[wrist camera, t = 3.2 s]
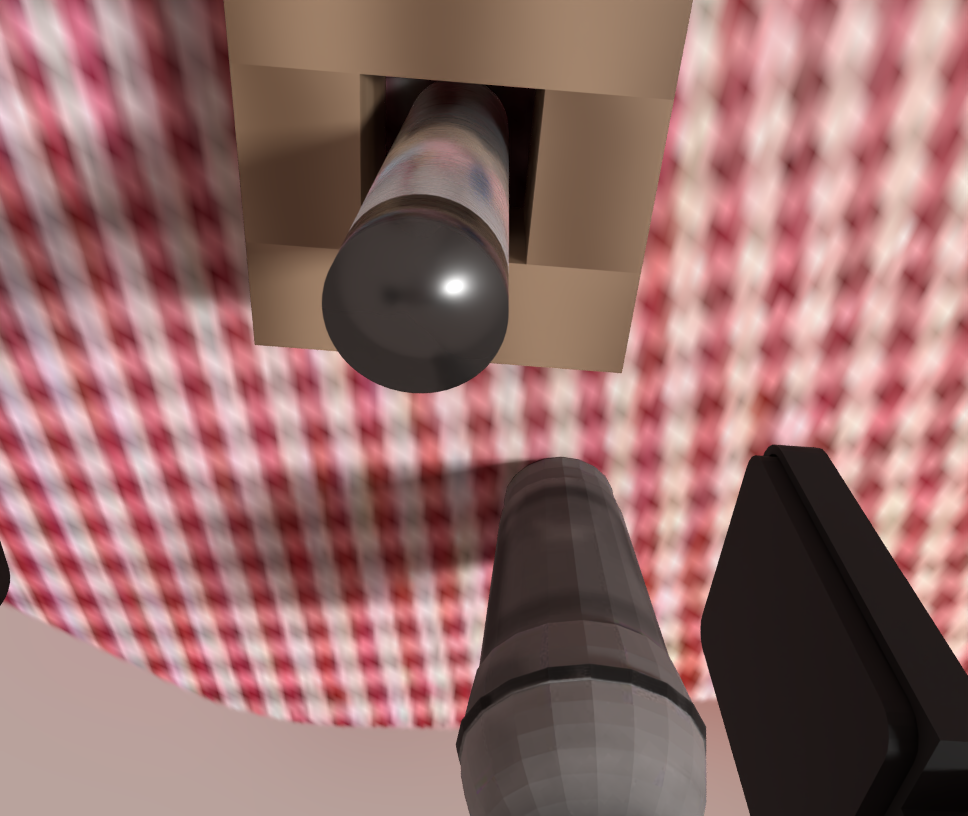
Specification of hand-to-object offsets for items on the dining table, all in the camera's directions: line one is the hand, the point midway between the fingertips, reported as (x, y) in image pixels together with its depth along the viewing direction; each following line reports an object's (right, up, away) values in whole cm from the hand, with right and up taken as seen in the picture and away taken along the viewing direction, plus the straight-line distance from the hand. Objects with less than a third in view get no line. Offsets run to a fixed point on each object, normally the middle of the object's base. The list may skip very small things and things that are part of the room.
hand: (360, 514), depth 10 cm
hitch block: (+1, +10, +15) cm, 18 cm away
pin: (+1, +10, +15) cm, 18 cm away
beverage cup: (+5, -2, +23) cm, 24 cm away
